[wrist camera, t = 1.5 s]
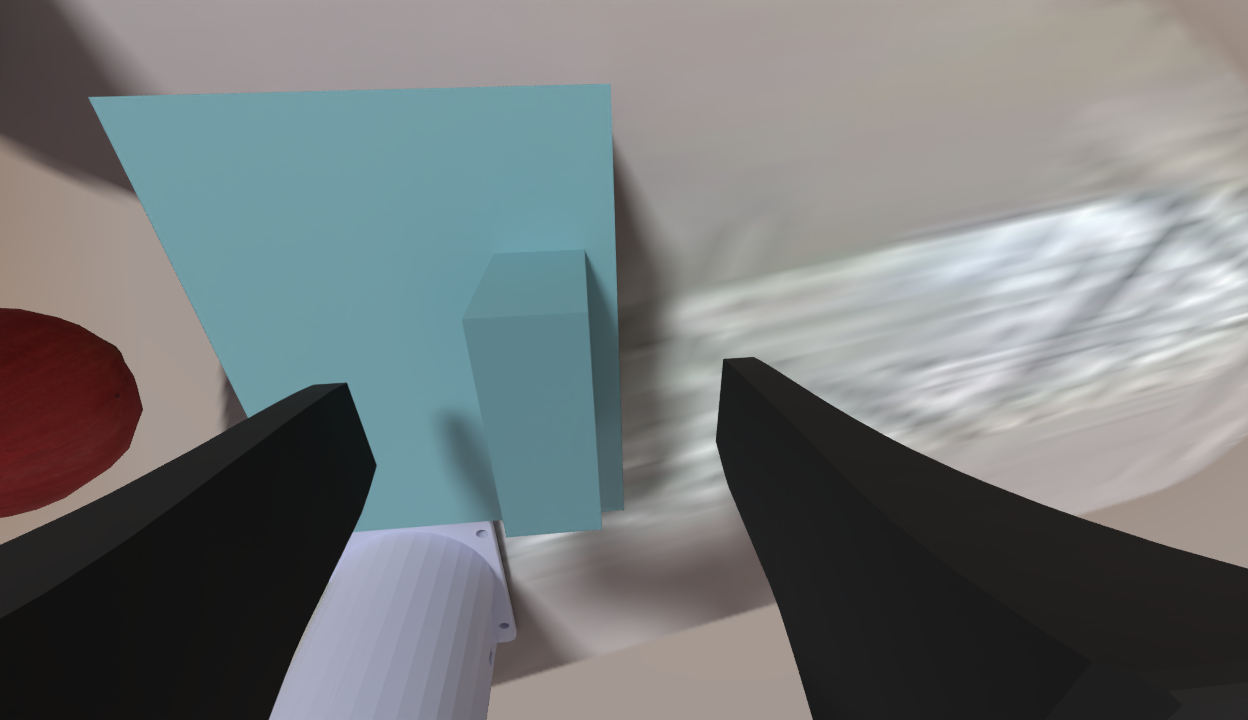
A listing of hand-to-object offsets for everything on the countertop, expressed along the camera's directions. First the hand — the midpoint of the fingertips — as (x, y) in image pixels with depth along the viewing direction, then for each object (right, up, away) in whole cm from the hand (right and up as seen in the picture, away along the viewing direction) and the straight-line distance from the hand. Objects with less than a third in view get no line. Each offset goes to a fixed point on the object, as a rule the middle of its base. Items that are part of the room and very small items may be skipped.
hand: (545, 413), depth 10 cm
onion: (-17, +2, +8) cm, 18 cm away
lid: (-3, +2, +3) cm, 5 cm away
